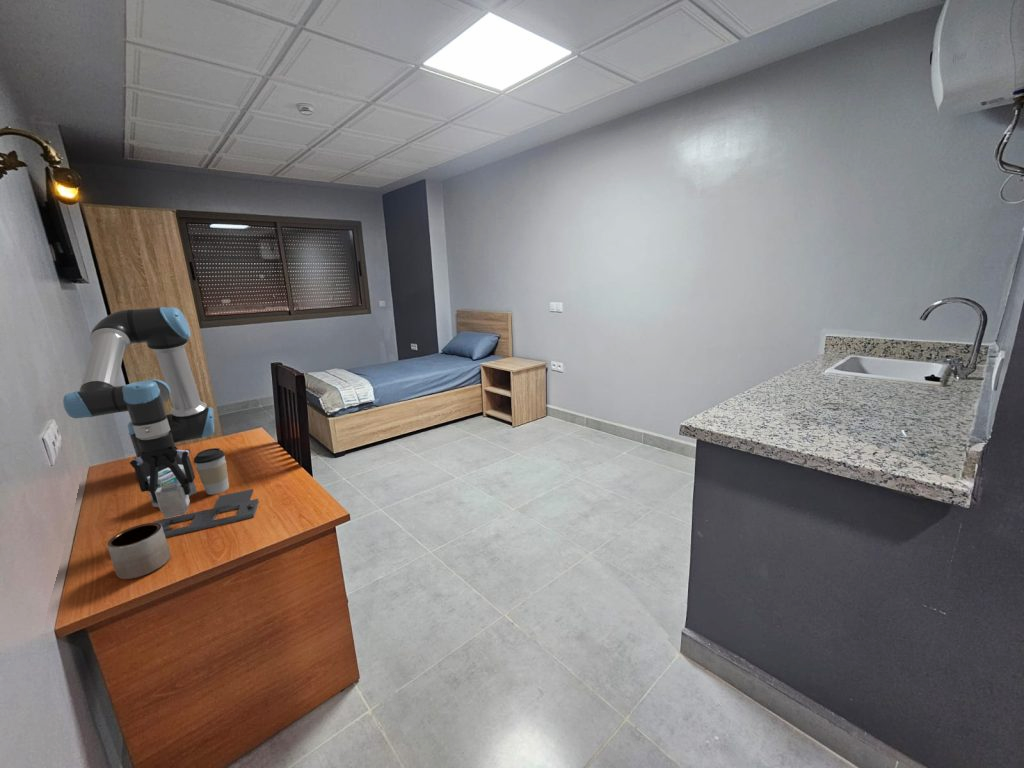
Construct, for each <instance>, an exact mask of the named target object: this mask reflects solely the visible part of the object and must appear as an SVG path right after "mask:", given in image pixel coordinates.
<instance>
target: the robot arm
mask: <svg viewBox="0 0 1024 768" xmlns="http://www.w3.org/2000/svg"><path fill="white" fill-rule="evenodd" d="M191 336H192V332H191V330H190V325H189V323H188V321H187V319H186V316H185V315H184V313H183V312H182V310H180V309H179V308H177V307H164V306H161V307H150V308H137V309H135V308H134V309H122V310H117V311H116V312H113V313H110V314H108V315H107V316H105V317H104V318H103V319H101V320H100V321H98V322H97V324H95V326H94V327H93V328H92V329H91V332H90V335H89V342H90V344H91V348H90V349H91V350H90V352H89V355H88V360H87V362H86V366H85V370H84V374H83V378H82V381H81V384H80V385H81V386H80V388H79V390H78V391H77V390H74V391H72V392H68V393H66V394H65V395H64V396H63V399H62V400H63V401H62V405H63V408H64V410H65V412H66V414H67V415H68V416H69V417H70V418H72V419H83V418H93V417H99V416H104V415H111V414H117V413H123V412H125V413H126V412H128V415H129V418H130V421H129V422H128V423H127V428H128V435H129V437H130V440H131V443H132V446H133V449H134V453H135V455H136V457H134V458H133V459H132V460H131V461H130V462H129V464H130V465H131V467H132V468H133V469H134V472H135V476H136V477H135V478H137V482H138V486H139V489H140V492H143V493H144V492H148V493H149V492H151V495H152V498H153V500H154V501H158V504H159V507H158V508H159V511H160V512H162V510H161V507H160V503H159V500H158V497H157V493H158V492H159V491H160V489H161V487H160V488H158V489H157V487H158V472H159V471H161V470H164V469H166V468H170V469H171V471H172V472H173V474H174V475H175V477H176V478H177V480H178V481H179V482H180V484H181V485H180V486H179V490H180V493H181V497H182V500H183V504H184V507H185V506H188V504H189V505H190V502H191V501H190V497H189V496H188V494H190V492H191V490H190V486H189V483H191V482H193V480H195V479H196V476H195V473H194V468H193V465H192V462H191V459H190V453H191V451H190V449H188V448H186V449H185V450H184V449H179V448H178V447H176V443H183V442H187V441H193V440H197V439H203V438H207V437H210V436H213V435H214V433H215V413H214V412H215V411H214V408H213V407H210V406H208V405H207V403H206V402H204V401H202V400H201V397H200V394H199V391H198V388H197V385H196V381H195V378H194V374H193V372H192V368H191V366H190V362H189V358H188V354H187V351H186V348H185V346H186V345H187V344H188V343H189V341H188V340H189V339H190V338H191ZM139 343H141V344H142V343H146V346H147V348H148V349H149V350H151V351H153V352H154V353H155V356H156V358H157V361H158V364H159V368H160V370H161V373H162V375H163V379H164V380H161V379H148V380H140V381H135V382H130V383H129V384H125V385H120V386H119V385H118V383H119V377H120V372H121V368H122V362H123V358H124V353H125V350H127V349H128V348H129V346H130V345H133V344H139ZM169 399H171V403H172V405H173V407H172V408H171V409H170V413H169V414H167V413H166V410H165V406H164V405H165V403H166V402H167V401H168V400H169ZM178 464H179V465H183V467H184V470H185V473H186V476H185V474H184V473H183V471H182V470H181V468H180V467H179V465H178ZM148 476H150V485H149V483H148V479H147V477H148Z"/></svg>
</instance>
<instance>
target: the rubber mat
mask: <svg viewBox="0 0 1024 768" xmlns="http://www.w3.org/2000/svg"><path fill="white" fill-rule="evenodd" d="M253 493H254V488H251V489H246V490H240V491H236V492H231V493H227V494H226V493H225V494H222V495H219V496H218V498H217V500H216V502H215V504H214V506H213V508H217V507H222V506H227V505H231V504H236V503H240V502H245V501H250V500H251V498H252V495H253Z"/></svg>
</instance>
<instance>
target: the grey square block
mask: <svg viewBox="0 0 1024 768" xmlns="http://www.w3.org/2000/svg"><path fill="white" fill-rule="evenodd" d="M180 485H181V484H180V483H178V482H176V483H171V484H166V485H164V486H163V487H162V488H161V489H160V491H159V492H158V493H157V497H158V500H159V503H160V507H161V510H162V516H163V519H167V518H171V517H176V516H181V515H185V514H187V513H186V512H187V511H188V509H189V507H190V503H189V504H188V506H185V507H184V504H183V500H182V497H181V493H180V490H179V486H180Z"/></svg>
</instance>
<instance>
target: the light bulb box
mask: <svg viewBox="0 0 1024 768" xmlns="http://www.w3.org/2000/svg"><path fill="white" fill-rule="evenodd" d="M178 465H179V464H178ZM179 467H180V468H181V470H182V471H183V473H184V474H185V476H186V473H185V470H184V467H183V465H179ZM147 479H148V483H149V485H150V476H148V477H147ZM194 480H195V479H194ZM194 480H193V482H191V483H189V486H190V490H191V492H190V494H188V496H189V498H190V497H191V495H192V496H194V495H195V494H197V492H198V491H197V488H196V484H195V481H194ZM176 482H178V483H180V482H179V481H178V480H177V478H176V477H175V475H174V474H173V472H172V471H171V469H170V468H166V469H164V470H161V471H159V472H158V487H157V489H158V488H160V487H161V488H162V487H163V486H164V485H166V484H171V483H176ZM148 493H149V497H150V501H151V503H152V507H154V508H159V504H158V501H154V500H153V498H152V495H151V492H149V491H148ZM193 494H194V495H193Z"/></svg>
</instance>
